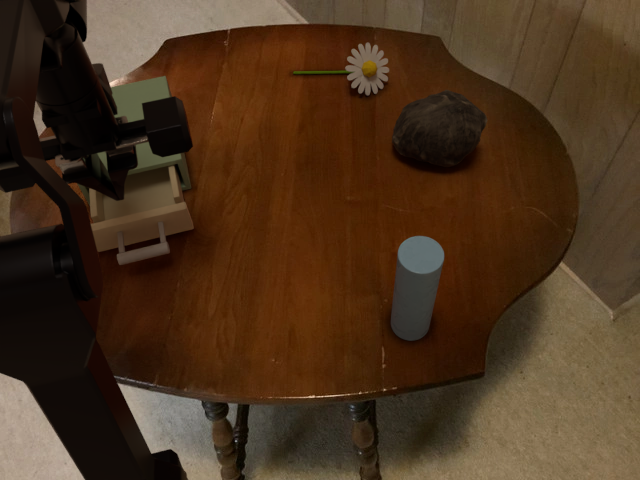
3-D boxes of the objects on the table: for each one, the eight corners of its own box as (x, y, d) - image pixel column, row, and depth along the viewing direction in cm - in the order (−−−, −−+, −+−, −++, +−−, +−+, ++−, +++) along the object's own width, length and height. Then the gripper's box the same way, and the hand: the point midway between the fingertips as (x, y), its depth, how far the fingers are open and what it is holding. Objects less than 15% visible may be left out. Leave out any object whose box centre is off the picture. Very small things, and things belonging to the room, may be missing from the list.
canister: (400, 346, 67) (409, 279, 55) (384, 313, 69) (390, 243, 58) (436, 333, 67) (452, 264, 56) (419, 301, 70) (431, 230, 59)
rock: (380, 128, 86) (396, 75, 77) (452, 120, 88) (475, 68, 80) (401, 184, 81) (420, 134, 72) (477, 174, 83) (504, 125, 75)
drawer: (199, 258, 74) (192, 238, 71) (100, 283, 72) (87, 263, 69) (177, 142, 86) (170, 120, 83) (92, 161, 85) (81, 139, 81)
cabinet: (191, 188, 82) (181, 158, 77) (92, 211, 80) (76, 182, 75) (175, 106, 92) (165, 75, 87) (87, 125, 90) (72, 95, 85)
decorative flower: (289, 41, 88) (391, 40, 87) (293, 47, 94) (388, 46, 94) (290, 95, 90) (390, 94, 89) (294, 98, 96) (388, 96, 95)
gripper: (159, 12, 59) (193, 129, 71) (-38, 51, 57) (34, 164, 69) (173, 83, 52) (208, 198, 65) (-48, 130, 50) (33, 239, 63)
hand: (120, 197), depth 66 cm, fingers closed
